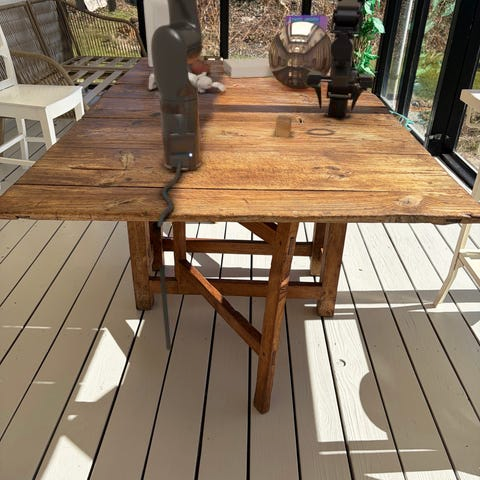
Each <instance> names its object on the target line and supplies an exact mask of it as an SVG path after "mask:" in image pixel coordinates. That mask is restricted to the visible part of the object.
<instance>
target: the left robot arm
mask: <svg viewBox="0 0 480 480" xmlns="http://www.w3.org/2000/svg"><path fill="white" fill-rule="evenodd" d="M167 2H168V9H169V24H167V25H163V26H160V27H158V28H157V29H156V30H155V32H154V33H153V36H152V40H151V55H152V63H153V67H152V70H153V71H152V72H153V74H154V79H155V83H156V86H157V87H156V88H157V90H158V96H159V111H160V123H161V124H160V125H161V138H162V139H161V140H162V151H163V166H164V167H165V168H166V169H168V170H170V171H171V172H175V175H174V176H173V179H172V180H171V181H170V182H169V183H168V184H166V185H164V187H163V188H162V190H161V195H162V197H163V199H164V200H165V202H166V203H167V205H168V207H167V208H166V209H163V211H162V212H161V213H160V214H159V217H158V220H157V227H159V228H160V227H163V225H164V221H165V219H166V216H167V215H169V214H170V213H172V211H173V210H174V202H173V200H172V199H171V197H170V196H169V195H168V193H167V192H168V190H170V188H172V187H174V186H175V184H176V183H178V181H179V178H180V175H181V172H187V171H197V168H199V167H200V166H201V165H202V162H201V142H200V113H199V110H200V108H199V91H198V86H197V84H196V83H194V82H192V81H190V80H189V75H188V72H189V68H188V64H191V63H193V62H195V61H196V60H197V59H198V58H199V57H200V55H201V54H202V52H203V44H204V43H203V33H202V25H201V21H200V16H199V8H198V3H197V0H167ZM75 5H76V6H75V7H76V8H77V9H78V11H79V12H82V11H86V6H85V5H86V4H85V0H75ZM107 9H108V12H109V13H114V12H115V11H116V10H117V1H116V0H107ZM201 56H202V55H201ZM165 266H166V265H165V264H162V265H161V264H160V265H159V278H160V291H161V292H160V293H161V302H162V303H161V304H162V313H163V325H164V335H165V347H166V350H167V351H170V350H172V345H171V332H170V331H171V330H170V321H169V309H168V300H167V299H168V297H167V284H166V269H165V268H166V267H165Z"/></svg>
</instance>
